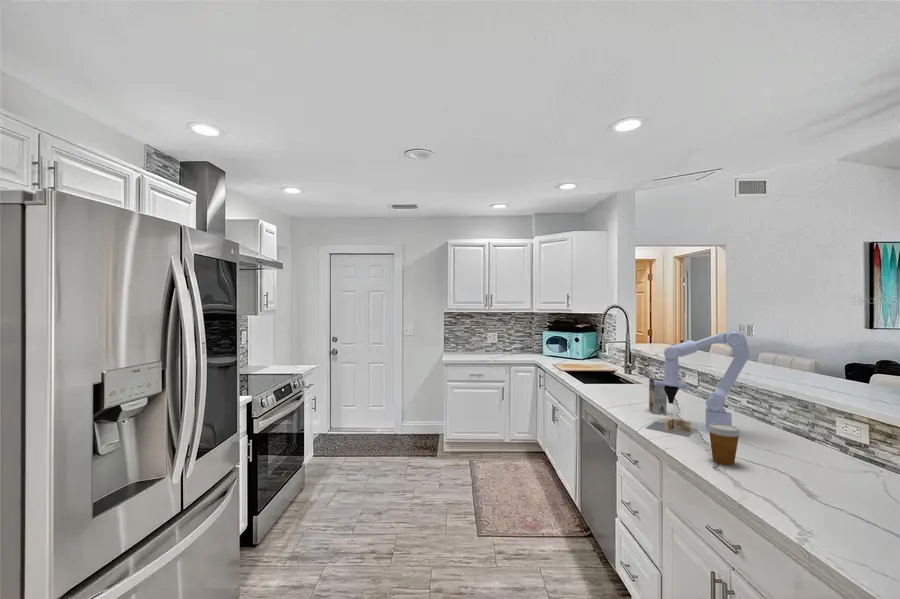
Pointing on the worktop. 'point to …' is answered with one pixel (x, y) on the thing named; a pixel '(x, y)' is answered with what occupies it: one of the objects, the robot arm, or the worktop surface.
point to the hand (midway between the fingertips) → (671, 403)
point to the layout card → (661, 427)
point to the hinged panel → (669, 424)
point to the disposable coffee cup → (723, 442)
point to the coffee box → (657, 398)
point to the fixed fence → (682, 425)
